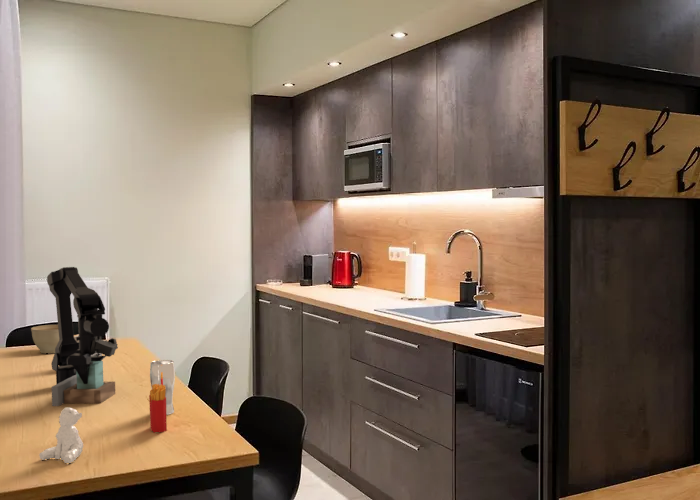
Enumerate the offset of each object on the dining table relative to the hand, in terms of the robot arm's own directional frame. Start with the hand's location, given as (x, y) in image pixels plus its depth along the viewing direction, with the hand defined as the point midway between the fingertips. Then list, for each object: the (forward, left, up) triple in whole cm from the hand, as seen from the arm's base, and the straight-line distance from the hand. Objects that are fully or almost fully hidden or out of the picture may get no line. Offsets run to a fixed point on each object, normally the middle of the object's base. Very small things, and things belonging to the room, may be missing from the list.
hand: (89, 381), depth 224 cm
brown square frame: (0, 0, -5) cm, 5 cm away
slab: (-7, 0, -6) cm, 9 cm away
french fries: (+33, -32, -6) cm, 46 cm away
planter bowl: (-51, +78, -6) cm, 93 cm away
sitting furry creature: (+18, -54, -6) cm, 57 cm away
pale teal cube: (0, 0, -2) cm, 2 cm away
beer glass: (+29, -16, -6) cm, 34 cm away
